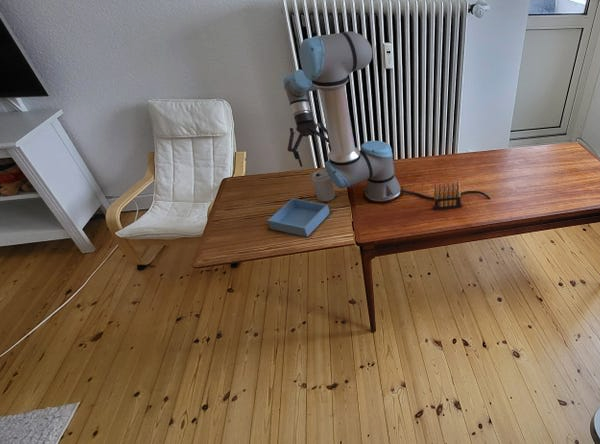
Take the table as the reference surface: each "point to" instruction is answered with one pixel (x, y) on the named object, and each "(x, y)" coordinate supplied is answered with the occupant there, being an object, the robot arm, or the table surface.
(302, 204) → the tray
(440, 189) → the ammunition clip
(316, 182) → the can
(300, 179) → the table surface
